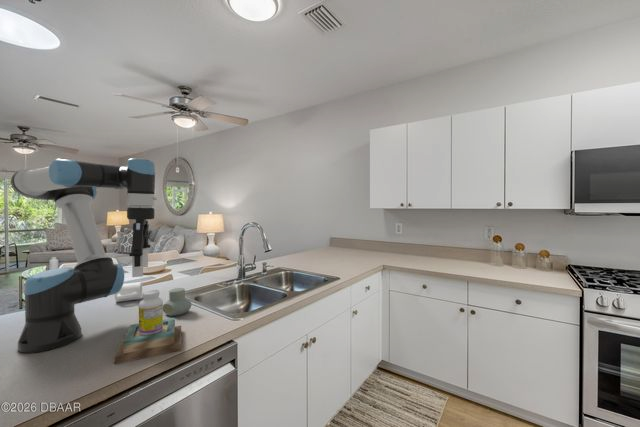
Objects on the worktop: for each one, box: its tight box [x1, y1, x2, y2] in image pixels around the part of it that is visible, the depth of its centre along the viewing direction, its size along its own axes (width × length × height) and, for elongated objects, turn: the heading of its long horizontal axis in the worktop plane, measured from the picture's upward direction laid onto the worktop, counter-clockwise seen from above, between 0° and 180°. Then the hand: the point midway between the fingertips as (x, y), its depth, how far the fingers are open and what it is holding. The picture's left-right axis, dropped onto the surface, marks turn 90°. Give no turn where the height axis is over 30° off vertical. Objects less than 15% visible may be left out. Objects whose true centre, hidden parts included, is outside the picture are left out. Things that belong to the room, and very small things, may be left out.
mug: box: [113, 282, 143, 303], centre depth 131 cm, size 12×10×8 cm
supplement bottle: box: [138, 289, 164, 336], centre depth 89 cm, size 7×7×13 cm
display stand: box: [113, 317, 182, 365], centre depth 89 cm, size 17×15×6 cm
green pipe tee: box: [163, 287, 193, 317], centre depth 116 cm, size 11×8×10 cm
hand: (140, 271), depth 91 cm, fingers open, 13 cm apart
